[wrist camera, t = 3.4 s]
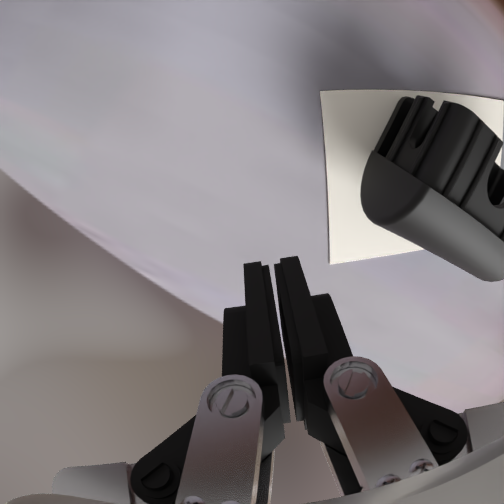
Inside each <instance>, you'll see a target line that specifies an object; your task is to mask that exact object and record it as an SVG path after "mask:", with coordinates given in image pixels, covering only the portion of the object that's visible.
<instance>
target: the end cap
mask: <svg viewBox="0 0 504 504" xmlns="http://www.w3.org/2000/svg"><path fill="white" fill-rule="evenodd" d="M434 102H435V101H433V100H432V99H431V98H430V97H425V96H420V95H417V96H416V98H415V99H414V98H411V97H407V96H405V97H401V99H400V100H399V101H398V103H397V105H396V107H395V109H394V111H393V113H392V115H391V117H390V119H389V121H388V123H387V125H386V127H385V129H384V131H383V133H382V135H381V137H380V139H379V141H378V142H377V144H376V146H375V149H374V151H373V150H372V151H371V153H370V156H369V158H368V160H367V163H366V166H365V168H364V172H363V176H362V181H361V189H360V198H361V205H362V208H363V212H364V213H365V215H366V217H367V218H368V219H369V220H370V221H371V222H372V223H374V224H375V225H377V226H380V227H382V228H384V229H386V230H388V231H390V232H392V233H394V234H396V235H398V236H400V237H402V238H404V239H406V240H408V241H410V242H412V243H414V244H416V245H418V246H420V247H422V248H424V249H426V250H427V251H429V252H431V253H433V254H435V255H437V256H439V257H441V258H443V259H444V260H446V261H448V262H450V263H452V264H454V265H456V266H457V267H459V268H461V269H463V270H465V271H466V272H468V273H470V274H472V275H473V276H475V277H477V278H479V279H481V280H484V281H489V282H493V281H500V280H503V279H504V170H503V169H502V168H501V167H500V166H499V165H498V164H497V163H496V162H495V160H496V158H497V156H498V154H499V152H500V150H501V148H502V145H503V143H504V142H503V141H502V140H501V139H500V138H499V137H498V136H497V135H496V134H495V133H494V132H493V131H492V130H491V129H490V128H489V127H488V126H487V125H486V124H485V123H484V122H483V121H482V120H481V119H480V118H479V117H478V116H477V115H476V114H475V113H474V112H473V111H471V110H470V109H468V108H467V107H465V106H463V105H461V104H458V103H454V102H449V101H445V100H443V103H442V105H441V107H440V109H439V111H437V110H436V109H434V108H433V105H434Z"/></svg>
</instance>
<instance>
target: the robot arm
mask: <svg viewBox="0 0 504 504" xmlns="http://www.w3.org/2000/svg"><path fill="white" fill-rule="evenodd" d="M274 269H275V277H276V285H277V294H278V303H279V311H280V320H281V329H282V336H283V342H284V348H285V354H286V360H287V365H288V371H289V377H290V384H291V389H292V396H293V402H294V409H295V415H296V420H297V421H303V420H304V425H305V430H308V434H309V435H310V436H312V437H314V438H316V439H317V440H319V441H320V443H321V447H322V450H323V452H324V455H325V457H326V460H327V462H328V465H329V468H330V470H331V473H332V475H333V478H334V480H335V483H336V485H337V488H338V490H339V493H340V496H341V497H338V498H333V499H329V500H323V501H318V502H311V503H306V504H504V402H501V403H496V404H492V405H487V406H482V407H476V408H471V409H465V411H464V412H463V413H459V414H457V413H455V412H453V411H452V410H449V409H446V408H444V407H441V406H439V405H436V404H433V403H431V402H428V401H426V400H423V399H421V398H418V397H416V396H414V395H411V394H409V393H406V392H404V391H401V390H399V389H397V388H394V387H392V386H391V384H390V383H389V381H388V379H387V378H386V376H385V375H384V373H383V371H382V370H381V369H380V367H379V366H378V365H377V364H376V363H374V362H373V361H371V360H369V359H366V358H363V357H353V355H352V352H351V349H350V347H349V344H348V341H347V338H346V336H345V333H344V330H343V328H342V325H341V322H340V320H339V317H338V314H337V312H336V309H335V307H334V304H333V301H332V299H331V297H330V295H329V294H328V293H327V294H321V295H315V296H311V295H310V292H309V289H308V286H307V283H306V280H305V277H304V273H303V270H302V267H301V264H300V261H299V258H298V256H294V257H287V258H280V263H278V264H274ZM244 283H245V303H246V306H240V307H232V308H225V309H224V321H223V358H222V359H223V360H222V377H220V378H218V379H216V380H214V381H213V382H211V383H210V384H209V385H208V386H207V387H206V388H205V389H204V391H203V393H202V396H201V399H200V402H199V406H198V410H197V414H196V415H195V416H194V417H193V418H192V419H190V420H189V421H188V422H187V423H186V424H184V425H183V426H182V427H181V428H179V429H178V430H177V431H176V432H174V433H173V434H172V435H171V436H170V437H168V438H167V439H166V440H164V441H163V442H162V443H161V444H159V445H158V446H157V447H155V448H154V449H153V450H152V451H151V452H149V453H148V454H146V455H145V456H144V457H142V458H141V459H140V460H139V461H138V462H137V463H134V464H128V463H126V462H120V463H112V464H103V465H92V466H77V467H67V468H63V469H62V470H60V471H59V472H58V473H57V474H56V476H55V477H54V479H53V484H52V494H31V495H25V496H21V497H18V498H15V499H12V500H10V501H8V502H7V503H5V504H270V500H271V489H272V478H273V465H274V453H275V452H274V449H275V448H276V447H277V446H278V445H279V444H280V443H281V441H282V440H283V439H284V438H285V435H284V425H283V423H290V422H291V420H290V410H289V402H288V401H289V400H288V390H287V382H286V372H285V363H284V355H283V349H282V343H281V337H280V330H279V324H278V318H277V312H276V306H275V300H274V294H273V288H272V282H271V276H270V270H269V265H264V266H262V265H261V261H260V262H253V263H246V264H244Z"/></svg>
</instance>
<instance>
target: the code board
mask: <svg viewBox="0 0 504 504" xmlns="http://www.w3.org/2000/svg"><path fill="white" fill-rule="evenodd" d="M417 95H420V96H425V97H430V98H431V99H432V100H433V101H435V102H434V105H433V108H434V109H436V110H437V111H439V109H440V107H441V105H442V103H443V100H445V101H449V102H454V103H458V104H461V105H463V106H465V107H467V108H468V109H470V110H471V111H473V112H474V113H475V114H476V115H477V116H478V117H479V118H480V119H481V120H482V121H483V122H484V123H485V124H486V125H487V126H488V127H489V128H490V129H491V130H492V131H493V132H494V133H495V134H496V135H497V136H498V137H499V138H500V139H501V140H503V116H504V101H503V100H497V99H490V98H484V97H477V96H469V95H461V94H451V93H441V92H428V91H411V90H331V91H320V98H321V108H322V118H323V130H324V142H325V156H326V172H327V190H328V213H329V254H330V265H331V264H337V263H344V262H350V261H357V260H363V259H369V258H375V257H382V256H388V255H394V254H400V253H406V252H412V251H418V250H423V249H424V248H422V247H420V246H418V245H416V244H414V243H412V242H410V241H408V240H406V239H404V238H402V237H400V236H398V235H396V234H394V233H392V232H390V231H388V230H386V229H384V228H382V227H380V226H377V225H375V224H374V223H372V222H371V221H370V220H369V219H368V218H367V217H366V215H365V213H364V212H363V208H362V205H361V198H360V189H361V181H362V176H363V172H364V168H365V166H366V163H367V160H368V158H369V156H370V153H371V151H372V150H373V151H374V149H375V146H376V144H377V142H378V141H379V139H380V137H381V135H382V133H383V131H384V129H385V127H386V125H387V123H388V121H389V119H390V117H391V115H392V113H393V111H394V109H395V107H396V105H397V103H398V101H399V100H400V99H401V97H405V96H407V97H411V98H414V99H415V98H416V96H417ZM501 154H502V148H501V150H500V152H499V154H498V156H497V158H496V160H495V162H496V163H497V164H498V165H499V166H500V165H501Z"/></svg>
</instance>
